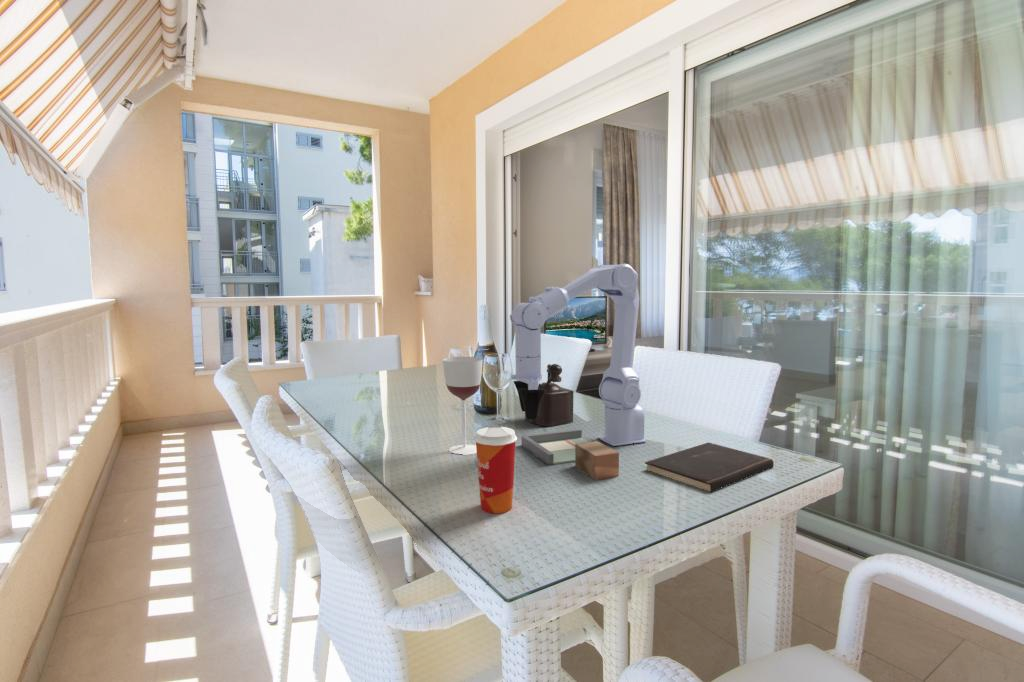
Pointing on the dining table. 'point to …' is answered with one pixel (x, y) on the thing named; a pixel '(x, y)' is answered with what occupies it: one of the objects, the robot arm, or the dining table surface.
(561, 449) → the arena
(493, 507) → the paper cup
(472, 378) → the wineglass
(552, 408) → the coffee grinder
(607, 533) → the dining table surface
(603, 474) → the walnut block
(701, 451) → the hardcover book
